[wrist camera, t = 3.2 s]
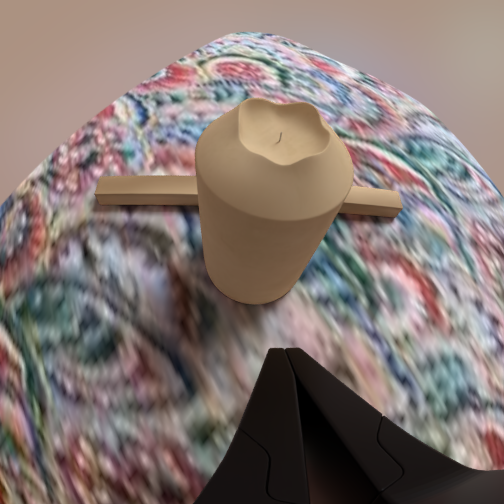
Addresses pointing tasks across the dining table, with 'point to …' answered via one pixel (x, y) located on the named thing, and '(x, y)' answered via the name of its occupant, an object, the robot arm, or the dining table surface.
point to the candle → (267, 195)
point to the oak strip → (185, 193)
